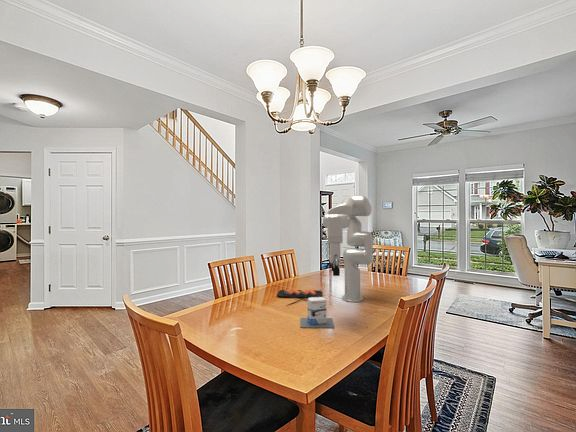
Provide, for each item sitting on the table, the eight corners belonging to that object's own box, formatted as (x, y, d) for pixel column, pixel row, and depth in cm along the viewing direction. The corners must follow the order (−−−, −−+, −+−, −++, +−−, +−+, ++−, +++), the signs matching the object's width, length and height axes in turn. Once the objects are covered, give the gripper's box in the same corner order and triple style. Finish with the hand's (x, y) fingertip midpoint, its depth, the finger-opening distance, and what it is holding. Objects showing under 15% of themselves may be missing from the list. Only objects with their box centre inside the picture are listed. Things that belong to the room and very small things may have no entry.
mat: (300, 318, 156) (300, 317, 156) (331, 319, 156) (331, 318, 156) (300, 327, 144) (300, 326, 144) (334, 328, 144) (334, 327, 144)
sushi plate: (322, 293, 205) (322, 287, 205) (322, 307, 175) (322, 301, 175) (279, 292, 208) (279, 286, 208) (272, 306, 178) (272, 300, 178)
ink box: (309, 324, 147) (309, 300, 146) (307, 321, 152) (307, 297, 151) (326, 323, 148) (326, 299, 148) (323, 319, 153) (323, 296, 153)
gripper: (326, 237, 163) (327, 269, 164) (328, 242, 146) (329, 277, 147) (340, 237, 162) (341, 269, 163) (344, 242, 145) (344, 277, 146)
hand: (335, 273), depth 155 cm, fingers open, 9 cm apart
